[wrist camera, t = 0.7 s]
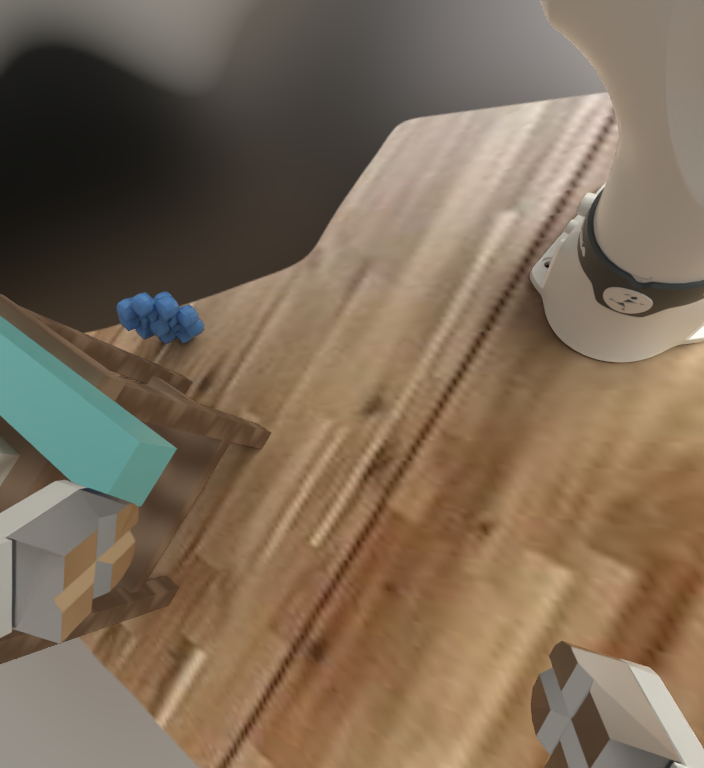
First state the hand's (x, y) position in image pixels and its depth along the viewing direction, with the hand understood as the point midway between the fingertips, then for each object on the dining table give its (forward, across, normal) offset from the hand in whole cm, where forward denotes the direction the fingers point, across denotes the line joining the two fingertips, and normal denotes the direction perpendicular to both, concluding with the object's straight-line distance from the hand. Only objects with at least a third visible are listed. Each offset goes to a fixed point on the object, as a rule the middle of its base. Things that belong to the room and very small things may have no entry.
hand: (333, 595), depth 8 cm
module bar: (+18, +23, +8) cm, 31 cm away
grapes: (+50, +29, +10) cm, 59 cm away
